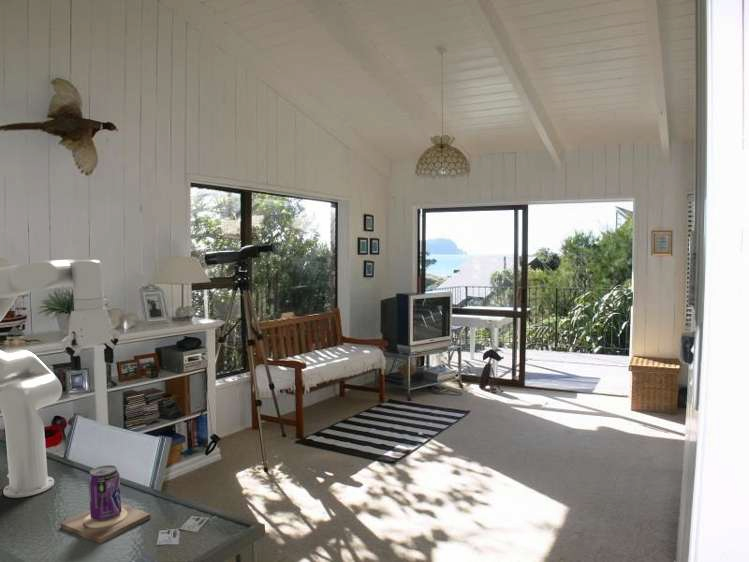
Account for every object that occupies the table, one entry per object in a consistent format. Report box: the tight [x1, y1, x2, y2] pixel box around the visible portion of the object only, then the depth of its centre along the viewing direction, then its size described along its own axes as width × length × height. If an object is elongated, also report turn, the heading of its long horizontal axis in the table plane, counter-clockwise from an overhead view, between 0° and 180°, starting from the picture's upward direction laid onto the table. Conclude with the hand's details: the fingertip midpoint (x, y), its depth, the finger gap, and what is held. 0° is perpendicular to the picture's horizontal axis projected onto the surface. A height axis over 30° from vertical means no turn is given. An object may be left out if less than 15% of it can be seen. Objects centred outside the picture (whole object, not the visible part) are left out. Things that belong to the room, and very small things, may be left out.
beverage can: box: [87, 464, 122, 521], centre depth 147 cm, size 7×7×12 cm
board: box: [60, 503, 152, 545], centre depth 147 cm, size 16×14×2 cm
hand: (93, 366), depth 162 cm, fingers open, 9 cm apart
